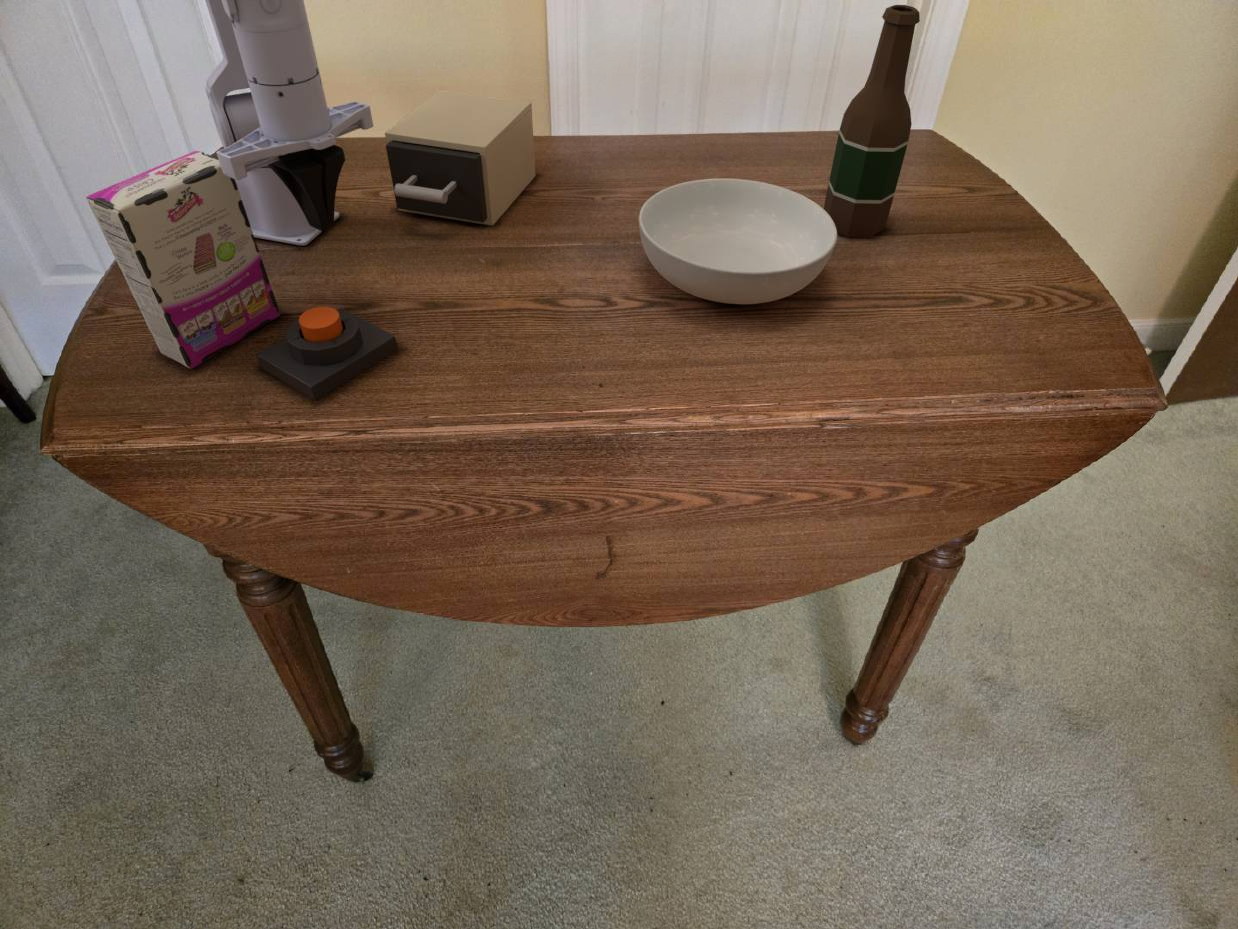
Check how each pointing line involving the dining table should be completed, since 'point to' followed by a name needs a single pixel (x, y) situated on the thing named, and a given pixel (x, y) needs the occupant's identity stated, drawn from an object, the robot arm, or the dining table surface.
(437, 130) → the cabinet
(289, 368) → the control block
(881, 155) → the beer bottle
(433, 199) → the drawer
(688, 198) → the serving bowl
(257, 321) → the candy bar box
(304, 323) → the button
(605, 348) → the dining table surface
